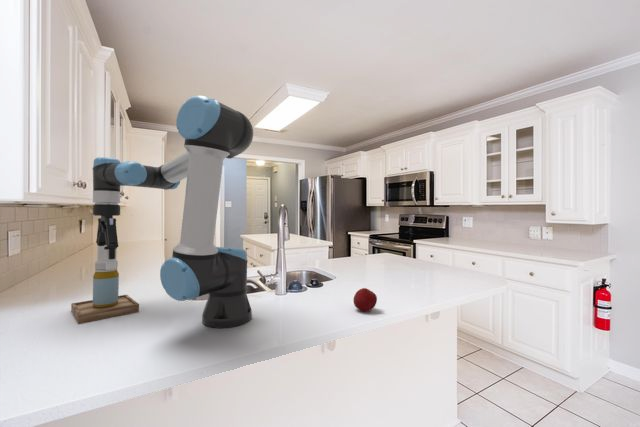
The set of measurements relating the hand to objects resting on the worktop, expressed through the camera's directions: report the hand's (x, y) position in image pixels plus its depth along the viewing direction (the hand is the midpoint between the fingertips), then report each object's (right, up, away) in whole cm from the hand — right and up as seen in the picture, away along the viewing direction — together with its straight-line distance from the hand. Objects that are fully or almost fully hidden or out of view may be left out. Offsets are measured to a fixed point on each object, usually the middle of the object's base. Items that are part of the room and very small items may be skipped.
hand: (106, 266), depth 99 cm
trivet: (0, -15, 0) cm, 15 cm away
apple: (+89, -17, +5) cm, 90 cm away
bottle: (0, -13, 0) cm, 13 cm away
